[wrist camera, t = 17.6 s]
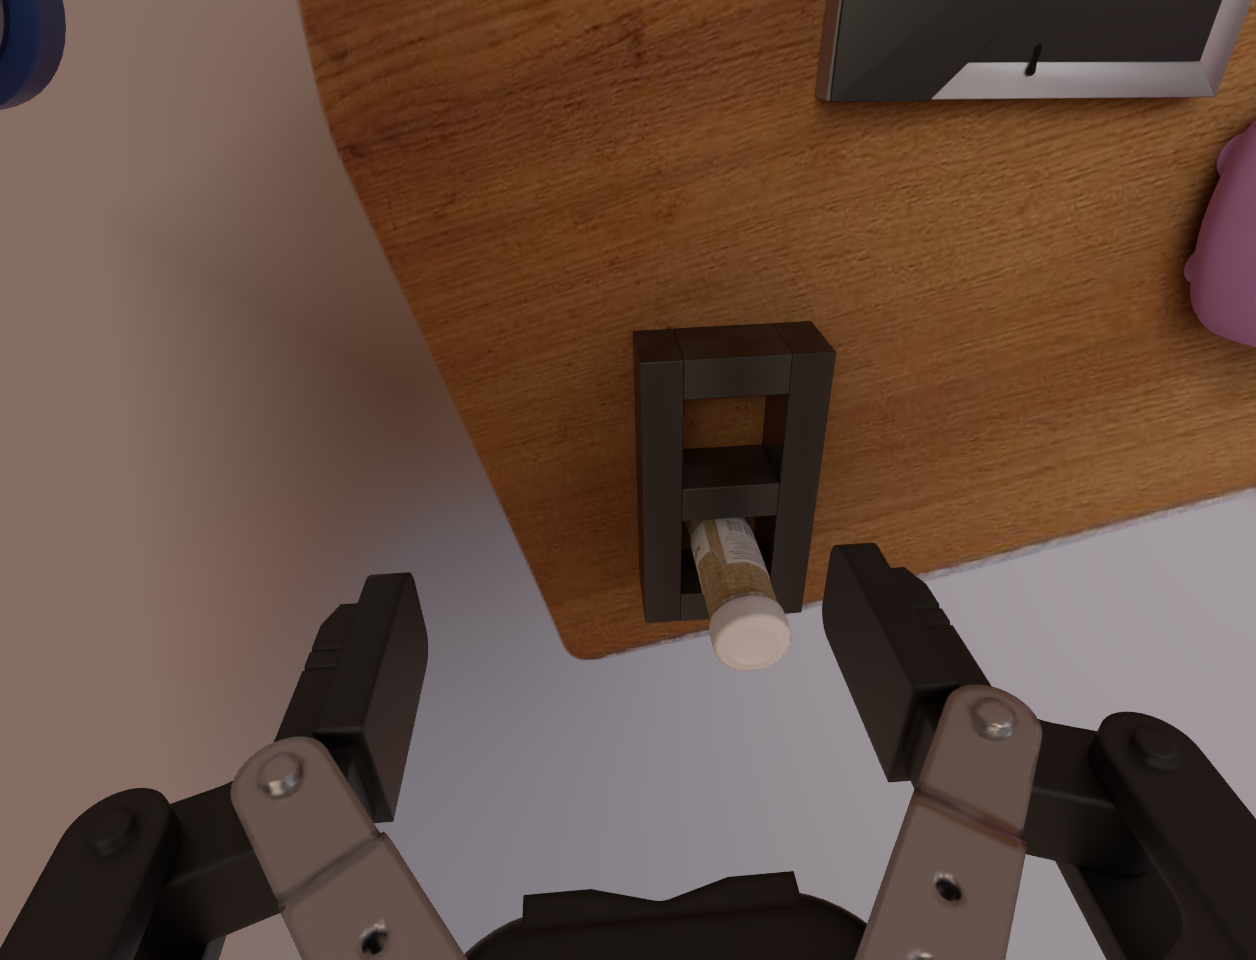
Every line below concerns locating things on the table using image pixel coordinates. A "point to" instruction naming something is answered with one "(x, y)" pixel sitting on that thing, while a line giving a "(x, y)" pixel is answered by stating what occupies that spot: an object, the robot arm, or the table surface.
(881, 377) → the table surface
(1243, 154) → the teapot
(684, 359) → the holder
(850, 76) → the picture frame
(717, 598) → the spice jar
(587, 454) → the table surface
